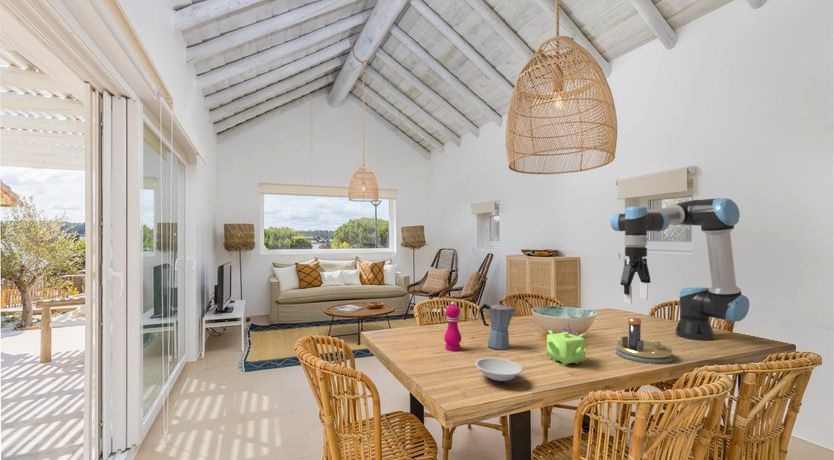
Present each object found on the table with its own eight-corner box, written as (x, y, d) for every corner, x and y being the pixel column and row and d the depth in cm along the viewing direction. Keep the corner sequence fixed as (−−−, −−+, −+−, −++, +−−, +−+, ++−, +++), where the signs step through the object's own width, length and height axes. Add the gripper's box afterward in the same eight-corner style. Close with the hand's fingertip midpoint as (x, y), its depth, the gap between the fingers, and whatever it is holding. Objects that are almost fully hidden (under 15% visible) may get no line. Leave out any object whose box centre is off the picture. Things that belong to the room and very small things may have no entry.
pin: (626, 349, 160) (626, 318, 160) (631, 347, 163) (631, 317, 163) (637, 351, 156) (637, 320, 157) (643, 349, 159) (643, 318, 159)
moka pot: (516, 351, 169) (516, 303, 169) (478, 349, 172) (479, 301, 172) (515, 345, 179) (515, 299, 179) (480, 343, 182) (480, 298, 182)
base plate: (633, 346, 177) (633, 342, 177) (683, 358, 160) (683, 354, 160) (605, 353, 167) (605, 349, 167) (656, 367, 150) (656, 363, 150)
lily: (559, 352, 172) (570, 334, 169) (546, 335, 182) (557, 317, 180) (581, 358, 175) (593, 341, 172) (568, 341, 186) (579, 324, 183)
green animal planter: (547, 354, 166) (547, 326, 166) (585, 358, 161) (585, 329, 161) (544, 365, 152) (544, 335, 152) (585, 370, 147) (585, 339, 147)
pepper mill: (442, 350, 170) (442, 302, 170) (446, 345, 177) (446, 299, 177) (459, 352, 168) (459, 303, 168) (463, 347, 175) (463, 300, 175)
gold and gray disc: (606, 348, 168) (606, 333, 168) (637, 342, 176) (637, 328, 176) (651, 361, 151) (651, 345, 151) (682, 354, 159) (682, 339, 159)
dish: (466, 375, 142) (466, 360, 142) (500, 369, 148) (500, 355, 148) (495, 393, 126) (495, 377, 126) (533, 386, 131) (533, 370, 131)
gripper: (631, 247, 149) (631, 306, 149) (659, 246, 164) (659, 299, 164) (610, 246, 154) (610, 303, 154) (640, 245, 170) (640, 296, 170)
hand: (635, 301), depth 159 cm, fingers open, 13 cm apart
